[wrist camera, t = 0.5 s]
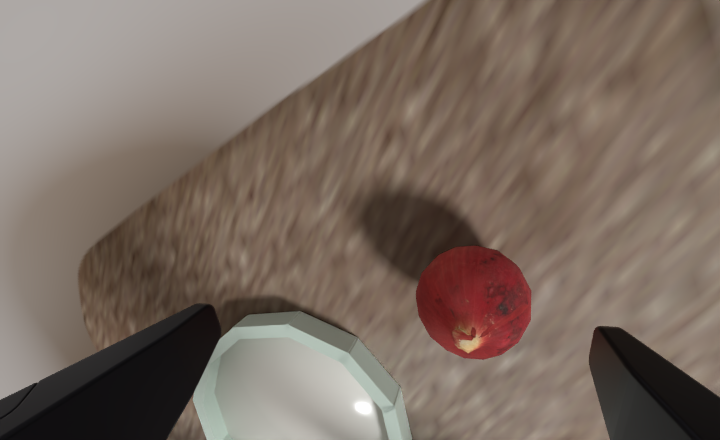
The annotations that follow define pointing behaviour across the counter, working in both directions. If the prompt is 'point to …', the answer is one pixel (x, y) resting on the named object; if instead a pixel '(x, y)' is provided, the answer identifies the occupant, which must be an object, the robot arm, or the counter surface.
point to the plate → (297, 384)
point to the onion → (474, 302)
